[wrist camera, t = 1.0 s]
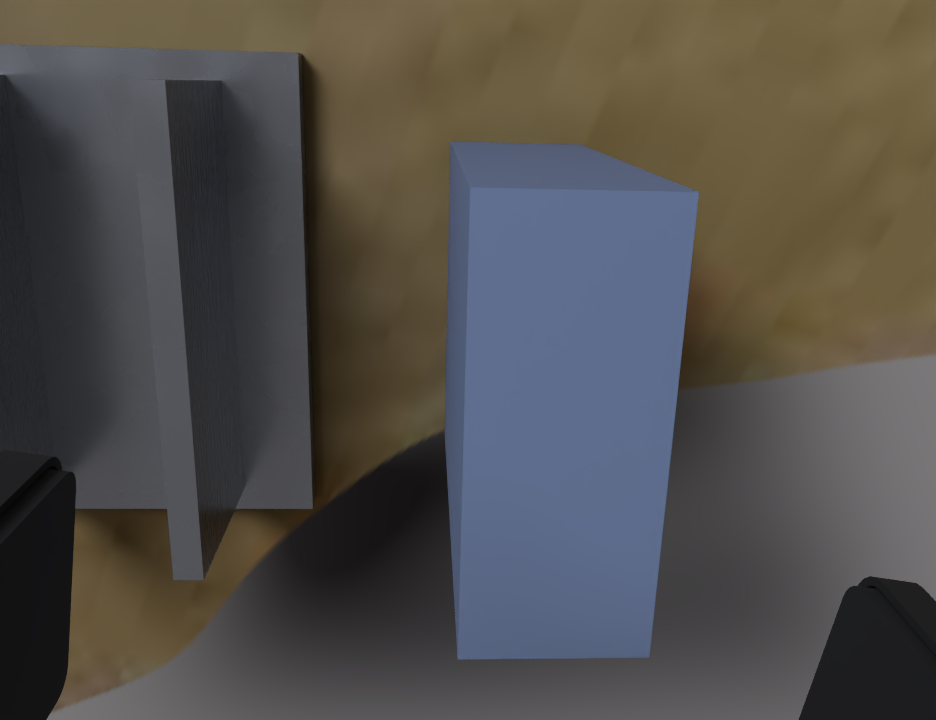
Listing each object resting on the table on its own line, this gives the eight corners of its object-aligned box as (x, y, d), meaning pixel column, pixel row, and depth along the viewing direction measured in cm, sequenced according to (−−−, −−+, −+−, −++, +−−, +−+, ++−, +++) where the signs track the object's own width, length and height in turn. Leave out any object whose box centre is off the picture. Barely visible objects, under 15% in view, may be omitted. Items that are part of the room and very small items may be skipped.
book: (580, 144, 33) (698, 192, 19) (562, 434, 37) (649, 657, 22) (450, 141, 33) (470, 187, 19) (445, 433, 36) (457, 659, 22)
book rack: (301, 53, 32) (262, 44, 24) (315, 498, 37) (287, 605, 29) (-94, 42, 31) (-264, 29, 23) (-20, 497, 36) (-138, 607, 29)
